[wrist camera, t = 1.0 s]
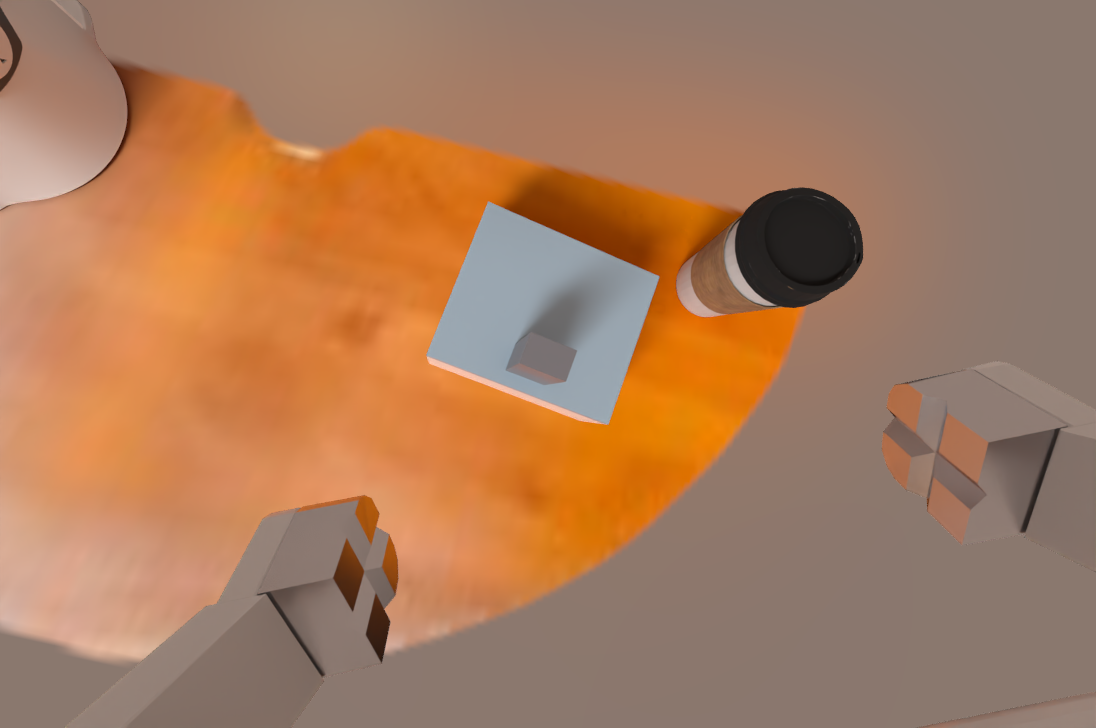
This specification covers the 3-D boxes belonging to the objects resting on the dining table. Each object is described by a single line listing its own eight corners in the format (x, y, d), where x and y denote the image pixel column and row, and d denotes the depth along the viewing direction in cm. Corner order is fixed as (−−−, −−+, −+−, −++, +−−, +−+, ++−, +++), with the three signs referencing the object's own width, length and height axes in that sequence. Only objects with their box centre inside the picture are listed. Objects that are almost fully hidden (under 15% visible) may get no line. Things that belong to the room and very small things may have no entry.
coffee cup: (732, 342, 50) (851, 318, 36) (651, 312, 49) (741, 274, 34) (755, 261, 51) (880, 205, 37) (676, 229, 50) (774, 157, 35)
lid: (427, 357, 39) (422, 344, 30) (486, 211, 40) (498, 158, 32) (600, 423, 41) (643, 429, 32) (649, 282, 43) (703, 251, 34)
